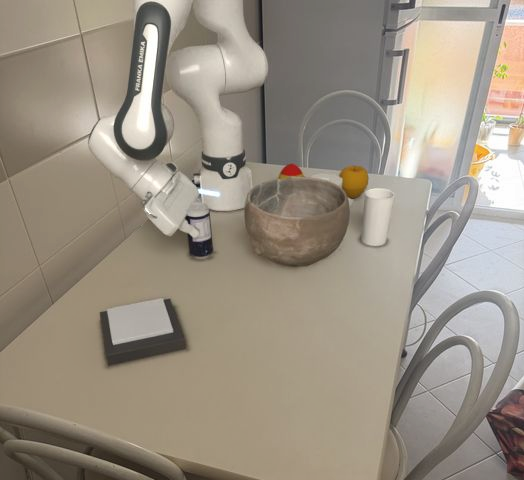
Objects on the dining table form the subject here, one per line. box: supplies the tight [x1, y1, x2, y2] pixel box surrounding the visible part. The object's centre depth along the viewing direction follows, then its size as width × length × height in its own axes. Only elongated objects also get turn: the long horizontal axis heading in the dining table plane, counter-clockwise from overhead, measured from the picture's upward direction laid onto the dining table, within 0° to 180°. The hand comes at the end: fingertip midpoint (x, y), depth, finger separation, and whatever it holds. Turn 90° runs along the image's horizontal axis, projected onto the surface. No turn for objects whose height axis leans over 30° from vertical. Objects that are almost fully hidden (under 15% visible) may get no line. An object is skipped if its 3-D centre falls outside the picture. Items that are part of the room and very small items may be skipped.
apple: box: [338, 165, 370, 199], centre depth 140 cm, size 9×8×9 cm
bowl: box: [243, 176, 351, 268], centre depth 112 cm, size 24×24×15 cm
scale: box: [99, 297, 187, 367], centre depth 93 cm, size 14×14×3 cm
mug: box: [360, 187, 396, 247], centre depth 119 cm, size 10×7×12 cm, turn 157°
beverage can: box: [185, 202, 214, 259], centre depth 114 cm, size 6×6×12 cm
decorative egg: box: [277, 163, 305, 179], centre depth 139 cm, size 8×8×10 cm
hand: (201, 227), depth 114 cm, fingers closed on beverage can, 5 cm apart
